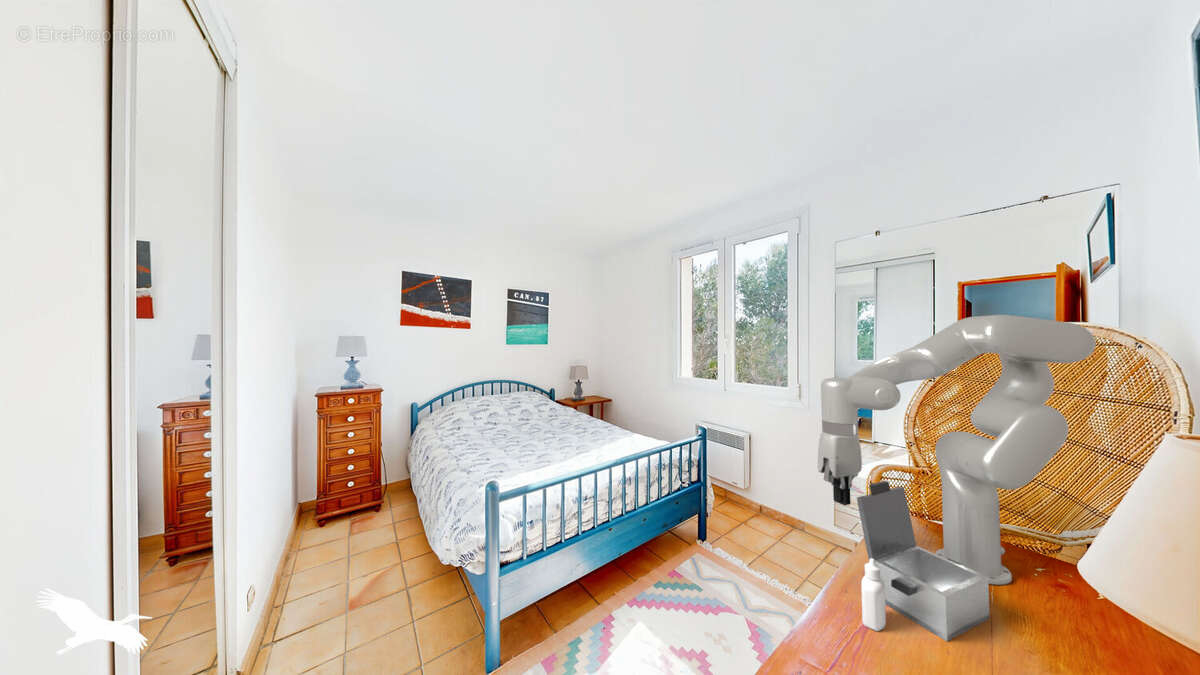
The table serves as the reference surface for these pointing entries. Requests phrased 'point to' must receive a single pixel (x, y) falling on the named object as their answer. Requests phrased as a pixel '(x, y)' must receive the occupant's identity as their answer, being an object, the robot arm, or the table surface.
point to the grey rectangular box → (934, 591)
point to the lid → (885, 520)
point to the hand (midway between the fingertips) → (841, 502)
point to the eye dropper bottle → (873, 597)
